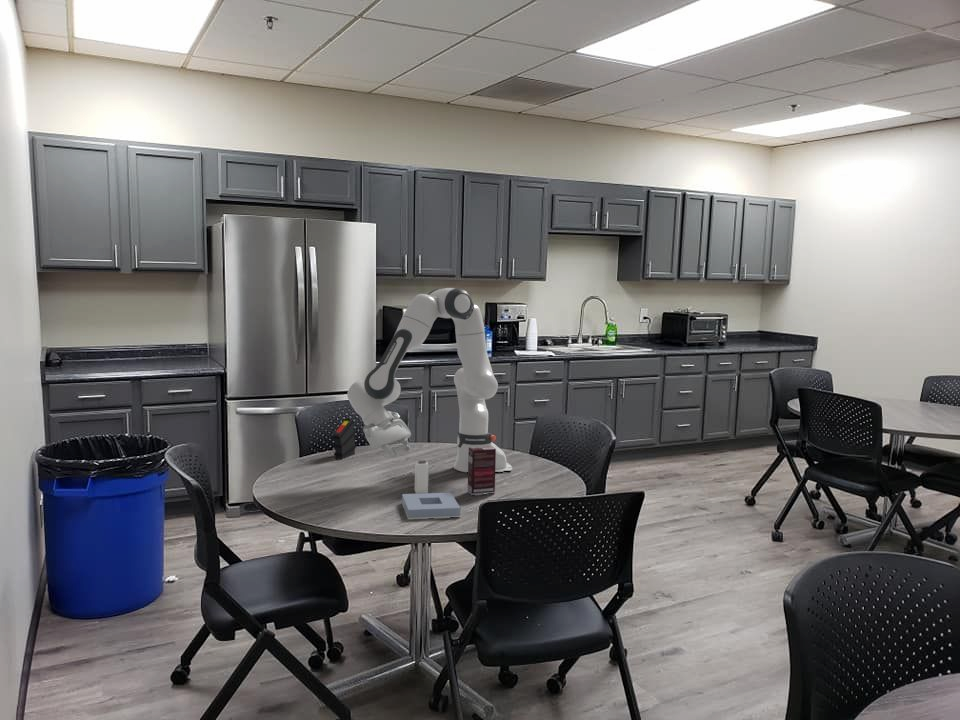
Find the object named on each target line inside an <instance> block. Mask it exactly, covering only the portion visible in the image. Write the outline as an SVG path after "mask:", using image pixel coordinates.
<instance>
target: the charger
mask: <svg viewBox="0 0 960 720" xmlns="http://www.w3.org/2000/svg"><path fill="white" fill-rule="evenodd" d="M429 466H430V465H429V462H428V461H427V460H418V461H415V463H414V490H413V491H414V492H415V494H421V493H429V470H430V469H429Z"/></svg>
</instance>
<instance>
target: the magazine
mask: <svg viewBox="0 0 960 720" xmlns="http://www.w3.org/2000/svg"><path fill="white" fill-rule="evenodd" d="M353 424H354V421H353V420H352V418H344V419H343V420H342V421H341V422H340V424H338V426H337V427H336V428H335V430H334V431H333V432H332V436H331V439H333V441H334V444H333V446H332V447H333V448H334V453H333V456H334V459H335V458H337V459H336V460H344V459H346V458H349V457H350V456H353V455H355V454H356V452H355V449H356V448H357V445H356V443H355V442H356V441H355V435H356V431H354V426H353ZM343 458H344V459H343Z"/></svg>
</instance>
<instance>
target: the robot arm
mask: <svg viewBox="0 0 960 720" xmlns="http://www.w3.org/2000/svg"><path fill="white" fill-rule="evenodd" d="M437 318H443V319H452V321H453V324H454V328H455V329H454V331H455V332H454V333H455V340H456V341H455V342H456V350H457V355H458V357H459V360H460V363H461V365H462V367H460V368H459V369H457V371H456V372H455V374H454V375H453V383H454V385H455V388H456V395H457V401H458V402H457V403H458V408H459V410H458V411H459V427H458V429H459V430H458V432H457V441H456V442H457V443H456V444H457V445H456V446H457V453H456V458H455V462H454V465H453V469H455V470H456V471H459V472H462V473H467V472H468V454H469V447H485V446H492V447H494V448H495V449H496V463H495V472H503V471H510V470H512V471H513V466H512V465H511V464H510V463H509V462H507V457H506V454H505V452H504V451H503V450H502V449H501V448H500V447H498V445H496V444H495V443H493V442H495V441H496V439H497V437H496V435H494V434H491V433H490V432H489V430H488V429H489V410H488V408H487V403H486V400H490V399H491V398H493V397H494V396H495V395H496V394H497V392H498V387H499V384H498V383H499V382H498V380H497V379H496V377H495V375H494V372H493V368H492V365H491V361H490V358H489V356H488V355H489V354H488V350H487V341H486V331H485V324H484V319H483V315H482V311H481V309H480V307H479V306H478V305H477V304H475V303H474V302H473V299H472V297H471V295H470V294H469V293H468V291H466V290H464V289H462V288H455V287H446V288H436V289H434V290H431V291H429V292H428V293H427V294H426V293H419V294H417V295H415V296H414V298H413V299H411V301H410V303H409V305H408V306H407V308H406V309H405V311H404V313H403V315H402V316H401V320H400V321H399V324H398V326H397V329H396V330H395V333H394V335H393V337H392V338H391V341H390V342H389V343H388V346H387V348H386V349H385V352H384V353H383V355H382V357H381V358H380V360H379V361H378V363H377V365H376V366H375V367H374V368H373V369H372V370H371V371H370V372H369V373H367V375H366V376H365V379H364V380H361V379H360V380H357V381H356V382H354V383H353V384H351V386H350V387H349V388H348V391H347V393H346V395H347V399H348V401H349V403H350V405H351V406H352V408H353V410H354V412H355V413H356V414H357V415H358V416H359V417H360V418H361V419H362V422H363V423H364V426H363V428H362V431H363V433H364V437H365V439H366V440H367V442H368V444H369V446H370V447H371V449H373V450H375V451H378V450H382V451H383V452H385V453H386V454H387V455H388V456H389V457H390V458H395V456H397V453H396V451H395V450H393V449H392V448H390V446H393V445H396V444H399V443H400V444H401V445H403V450H404V452H405V453H408V452H411V450H412V447H411V446H410V442H409V440H408V439H409V438H410V437H411V436H412V431H411V430H410V429H409V427H408V426H407V424H406V423H405V422H404V421H403V419H401V415H399V413H398V412H396V411H395V412H393V411H391V410H386V408H385V406H388V405H389V404H391V403H393V402H395V401H396V400H398V399H399V397H400V395H401V391H402V387H401V384H400V382H399V380H397V379H396V378H395V375H396V372H397V370H398V368H399V366H400V364H401V362H402V360H403V358H404V356H405V355H406V353H407V352H408V351H410V350H412V349H413V348H418V347H420V346H422V344H423V343H425V341H426V339H427V337H428V336H429V334H430V332H431V330H432V327H433V324H434V322H435V321H436V320H437ZM503 473H504V472H503Z"/></svg>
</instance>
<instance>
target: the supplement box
mask: <svg viewBox="0 0 960 720" xmlns="http://www.w3.org/2000/svg"><path fill="white" fill-rule="evenodd" d="M495 463H496V449H495V448H494V447H492V446H485V447H469V454H468V473H467V493H468V492H469V493H470V494H471V495H470V494H469V493H468V494H469V495H470V496H472V495H475V496H479V495H478V494H484V493H495V492H496V473H495Z"/></svg>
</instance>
